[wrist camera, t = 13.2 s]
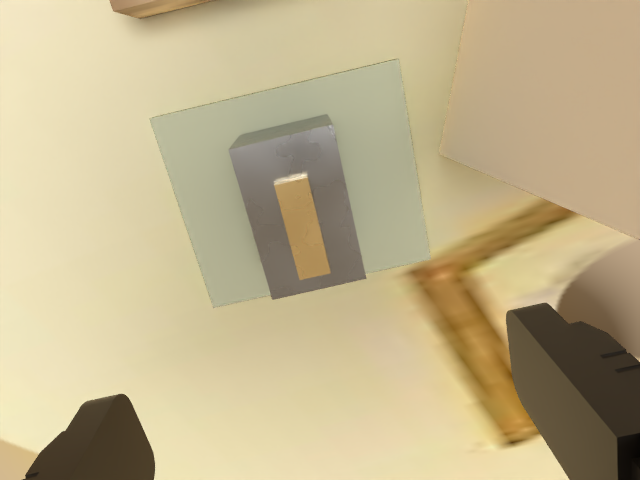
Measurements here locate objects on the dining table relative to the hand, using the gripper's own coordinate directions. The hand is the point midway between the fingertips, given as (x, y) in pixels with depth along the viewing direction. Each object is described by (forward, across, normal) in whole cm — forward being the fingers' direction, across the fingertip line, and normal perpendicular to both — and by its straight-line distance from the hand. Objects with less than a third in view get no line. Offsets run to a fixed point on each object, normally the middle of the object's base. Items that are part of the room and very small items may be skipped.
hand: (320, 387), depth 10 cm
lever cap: (+20, +1, +1) cm, 20 cm away
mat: (+20, +1, +1) cm, 20 cm away
